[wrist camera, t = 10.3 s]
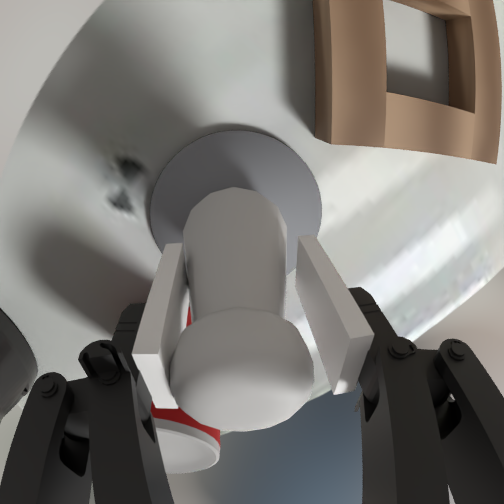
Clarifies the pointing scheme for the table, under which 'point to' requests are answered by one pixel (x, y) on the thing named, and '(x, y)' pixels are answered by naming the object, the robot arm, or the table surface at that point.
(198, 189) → the coaster
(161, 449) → the canned food
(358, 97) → the collar block
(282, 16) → the table surface
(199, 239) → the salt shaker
